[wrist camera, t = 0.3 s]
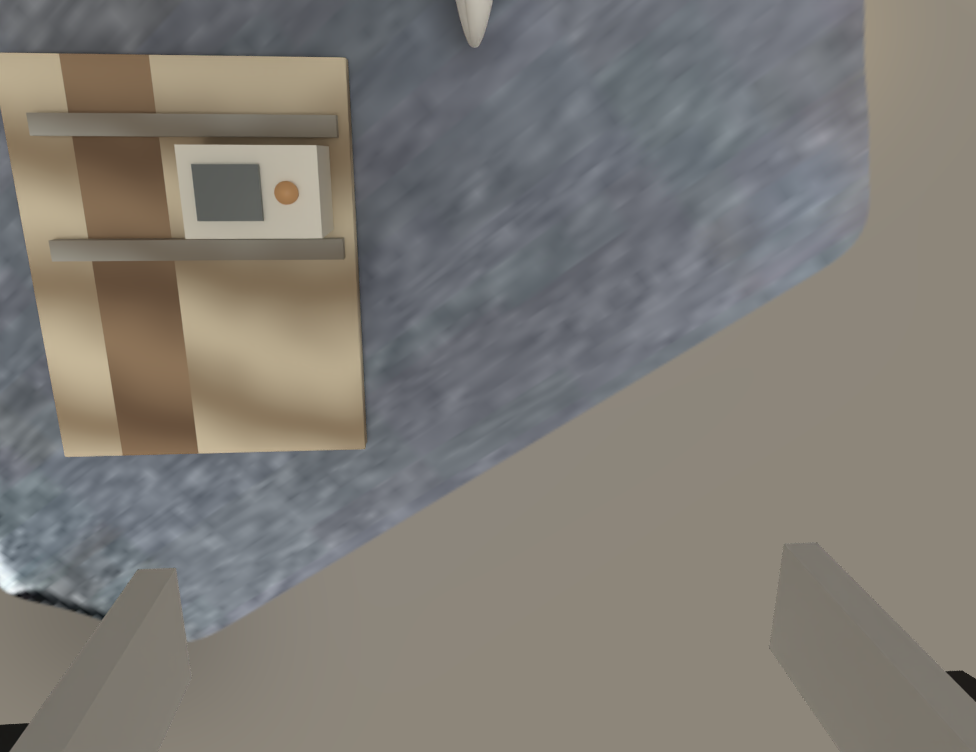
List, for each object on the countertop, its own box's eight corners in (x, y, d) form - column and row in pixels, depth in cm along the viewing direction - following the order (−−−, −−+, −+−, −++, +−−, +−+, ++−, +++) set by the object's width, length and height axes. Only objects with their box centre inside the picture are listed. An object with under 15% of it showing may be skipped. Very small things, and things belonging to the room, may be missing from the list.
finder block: (202, 145, 34) (171, 144, 30) (329, 146, 35) (315, 144, 31) (211, 230, 36) (183, 239, 32) (333, 229, 36) (321, 239, 32)
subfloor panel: (5, 56, 34) (-21, 50, 32) (348, 60, 35) (343, 55, 33) (75, 448, 40) (57, 462, 38) (366, 440, 41) (363, 454, 39)
